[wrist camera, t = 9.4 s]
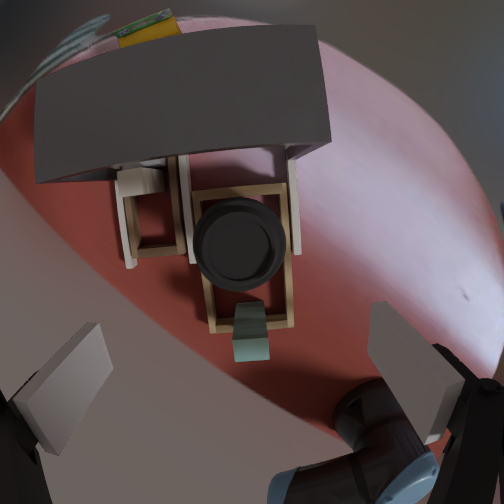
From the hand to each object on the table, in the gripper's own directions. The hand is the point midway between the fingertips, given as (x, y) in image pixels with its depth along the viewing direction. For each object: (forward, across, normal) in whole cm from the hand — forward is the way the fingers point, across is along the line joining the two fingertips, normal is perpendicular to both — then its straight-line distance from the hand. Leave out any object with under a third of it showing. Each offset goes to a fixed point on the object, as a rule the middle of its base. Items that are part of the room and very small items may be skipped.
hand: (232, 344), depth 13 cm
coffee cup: (+29, 0, -1) cm, 29 cm away
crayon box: (+29, +9, -26) cm, 40 cm away
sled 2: (+29, 0, +3) cm, 29 cm away
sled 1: (+29, +12, -9) cm, 32 cm away
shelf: (+29, +5, -14) cm, 33 cm away
